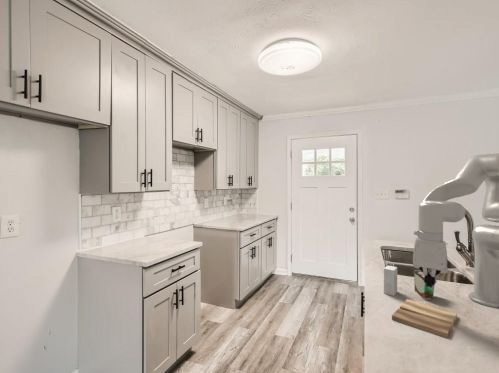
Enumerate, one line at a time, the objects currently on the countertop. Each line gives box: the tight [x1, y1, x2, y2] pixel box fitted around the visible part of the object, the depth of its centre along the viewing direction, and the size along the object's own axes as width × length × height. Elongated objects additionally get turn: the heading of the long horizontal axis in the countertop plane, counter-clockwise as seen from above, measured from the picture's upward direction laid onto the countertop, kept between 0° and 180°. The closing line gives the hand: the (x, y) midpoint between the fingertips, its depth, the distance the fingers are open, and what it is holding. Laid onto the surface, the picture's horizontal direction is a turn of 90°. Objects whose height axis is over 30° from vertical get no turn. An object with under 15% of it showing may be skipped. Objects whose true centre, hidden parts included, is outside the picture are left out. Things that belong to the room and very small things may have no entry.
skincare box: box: [383, 265, 398, 297], centre depth 119 cm, size 6×4×12 cm
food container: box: [413, 269, 438, 300], centre depth 117 cm, size 12×6×10 cm, turn 168°
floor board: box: [391, 307, 453, 339], centre depth 97 cm, size 20×18×2 cm
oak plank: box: [399, 298, 458, 327], centre depth 100 cm, size 10×16×2 cm, turn 46°
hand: (429, 285), depth 101 cm, fingers closed
